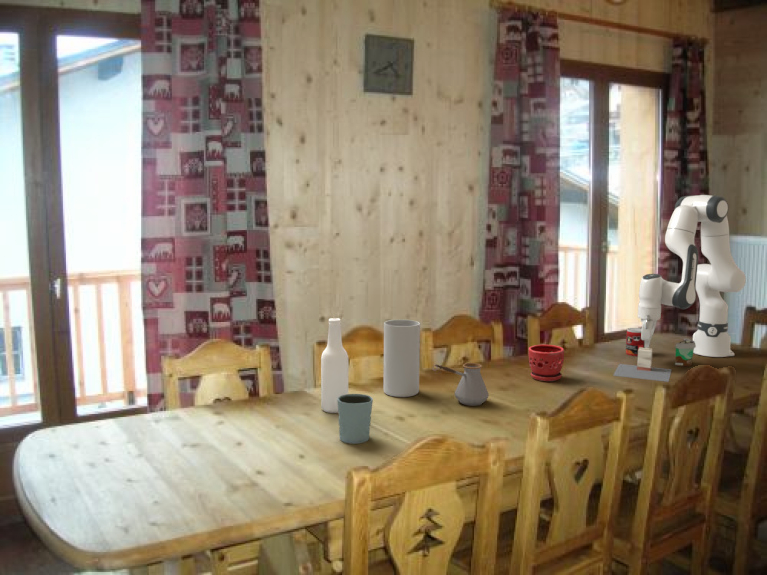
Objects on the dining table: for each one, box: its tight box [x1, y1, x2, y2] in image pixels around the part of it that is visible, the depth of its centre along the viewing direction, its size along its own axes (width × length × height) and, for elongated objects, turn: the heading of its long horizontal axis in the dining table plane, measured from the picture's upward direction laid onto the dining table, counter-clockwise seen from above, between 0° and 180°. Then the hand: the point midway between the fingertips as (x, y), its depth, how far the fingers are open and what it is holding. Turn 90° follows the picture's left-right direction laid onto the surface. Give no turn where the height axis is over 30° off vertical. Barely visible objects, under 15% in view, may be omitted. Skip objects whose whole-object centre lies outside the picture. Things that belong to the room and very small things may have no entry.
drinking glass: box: [337, 393, 374, 445], centre depth 208 cm, size 10×10×12 cm
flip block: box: [636, 347, 654, 371], centre depth 288 cm, size 5×5×8 cm
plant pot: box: [528, 344, 565, 383], centre depth 274 cm, size 13×13×12 cm
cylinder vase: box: [383, 319, 421, 398], centre depth 253 cm, size 12×12×25 cm
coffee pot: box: [432, 362, 490, 407], centre depth 241 cm, size 21×12×15 cm, turn 120°
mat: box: [612, 363, 673, 383], centre depth 284 cm, size 20×20×1 cm
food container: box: [674, 337, 696, 367], centre depth 296 cm, size 12×6×10 cm, turn 143°
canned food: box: [625, 327, 645, 357], centre depth 314 cm, size 8×8×11 cm
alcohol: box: [320, 317, 349, 414], centre depth 233 cm, size 9×9×30 cm
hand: (647, 347), depth 296 cm, fingers closed
